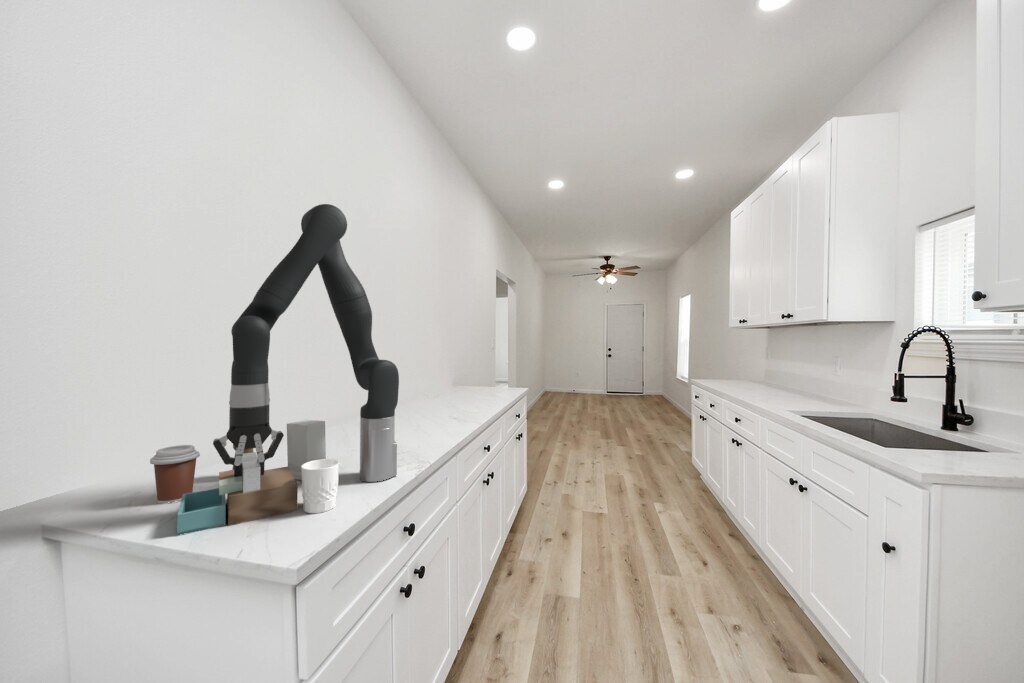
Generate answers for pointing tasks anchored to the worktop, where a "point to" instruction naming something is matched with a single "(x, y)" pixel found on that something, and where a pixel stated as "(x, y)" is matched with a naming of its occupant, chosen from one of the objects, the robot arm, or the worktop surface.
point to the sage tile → (230, 485)
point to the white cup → (320, 485)
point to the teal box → (201, 511)
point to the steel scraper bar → (250, 472)
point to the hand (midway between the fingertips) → (249, 478)
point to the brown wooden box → (264, 497)
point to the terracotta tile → (226, 474)
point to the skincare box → (305, 444)
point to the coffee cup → (174, 472)
